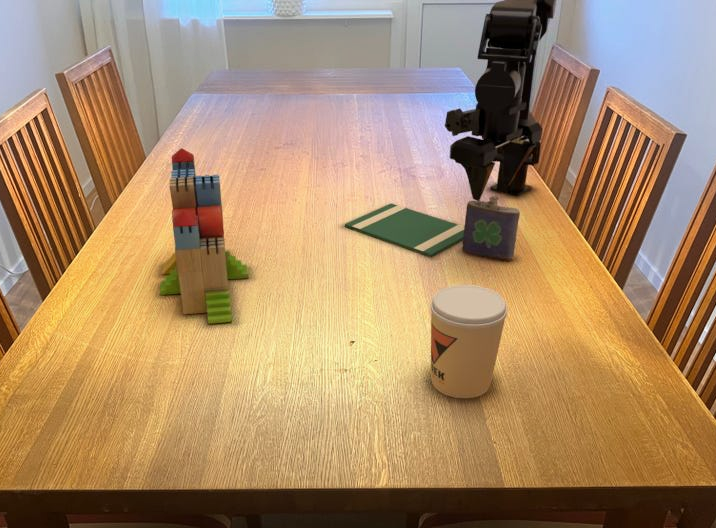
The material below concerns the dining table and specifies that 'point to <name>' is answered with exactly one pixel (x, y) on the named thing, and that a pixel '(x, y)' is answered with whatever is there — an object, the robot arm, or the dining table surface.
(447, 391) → the coffee cup
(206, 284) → the block set
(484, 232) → the flask
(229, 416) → the dining table surface
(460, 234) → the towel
